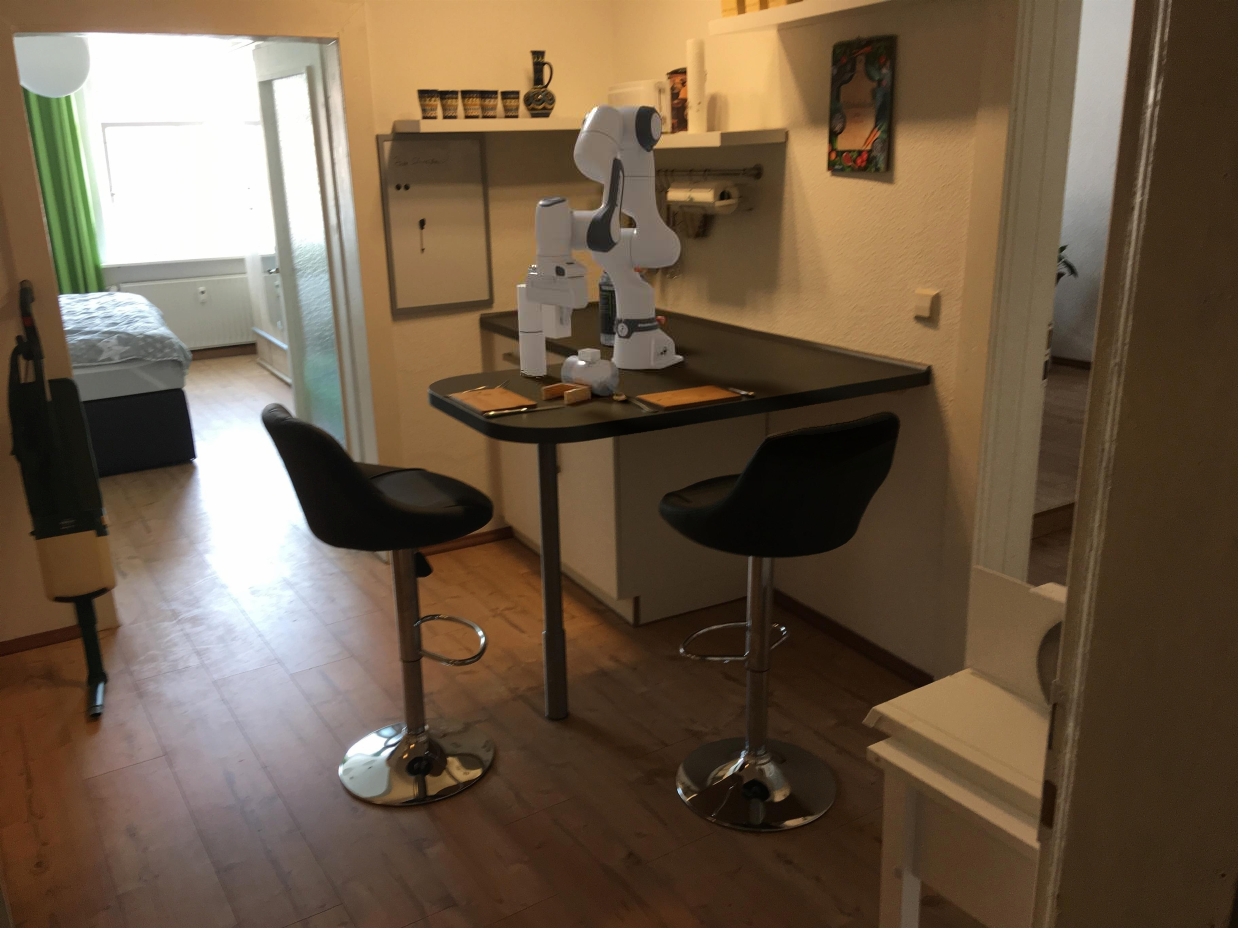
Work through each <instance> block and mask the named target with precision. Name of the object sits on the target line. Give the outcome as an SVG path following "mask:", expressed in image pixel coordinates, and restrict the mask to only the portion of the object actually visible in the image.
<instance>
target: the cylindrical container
mask: <svg viewBox="0 0 1238 928" xmlns="http://www.w3.org/2000/svg"><path fill="white" fill-rule="evenodd" d="M525 288H526V283H524V284H523V283H522V284H517V285H516V293H517V295H516V296H517V316H518V317H517V319H518V335H519V358H520V359H519V361H520V373H521V372H522V373H525V374H527V375H532V376H543V375H546V374H547V357H546V356H547V355H546V337H544V336H543V327H542V311H541V309H540V304H539V303H532V302H528V301H527V299H526V297H525ZM521 370H524V371H521ZM546 376H547V375H546ZM543 377H544V376H543Z"/></svg>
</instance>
